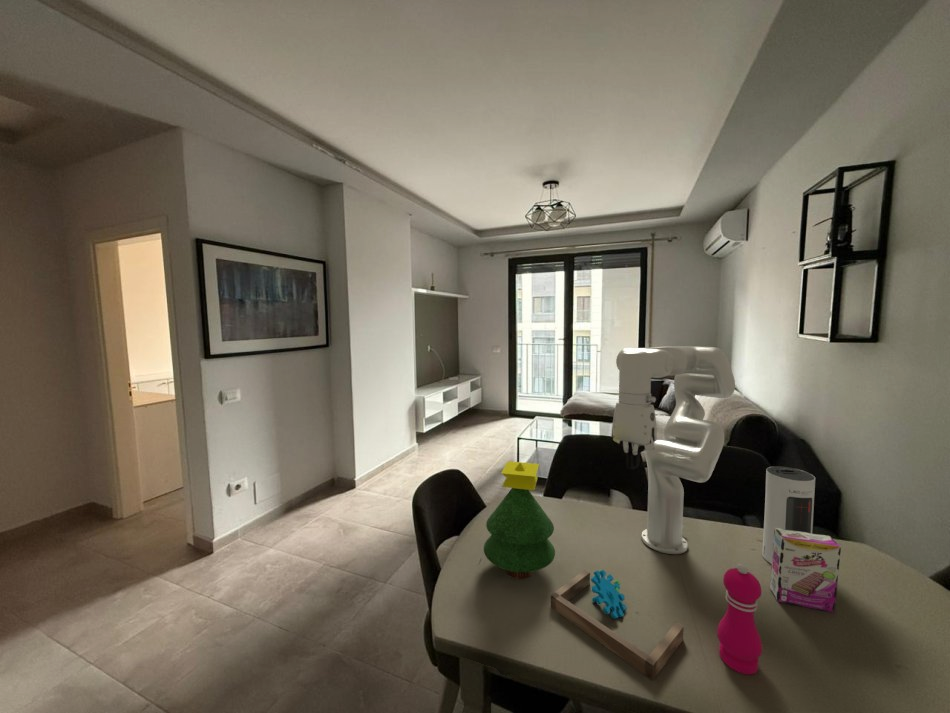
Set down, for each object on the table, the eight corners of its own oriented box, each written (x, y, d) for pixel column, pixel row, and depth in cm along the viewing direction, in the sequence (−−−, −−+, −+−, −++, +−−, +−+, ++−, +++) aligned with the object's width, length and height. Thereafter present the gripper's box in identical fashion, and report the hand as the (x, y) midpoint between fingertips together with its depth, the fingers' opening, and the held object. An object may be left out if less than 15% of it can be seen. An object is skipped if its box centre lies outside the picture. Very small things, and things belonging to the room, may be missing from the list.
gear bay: (584, 580, 97) (584, 569, 97) (683, 639, 78) (683, 626, 78) (550, 607, 88) (550, 595, 88) (652, 680, 69) (653, 665, 69)
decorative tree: (475, 588, 94) (474, 473, 92) (492, 544, 113) (491, 448, 110) (552, 602, 89) (553, 481, 87) (556, 554, 108) (557, 454, 105)
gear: (614, 624, 80) (588, 576, 86) (595, 632, 83) (570, 585, 89) (636, 605, 88) (610, 561, 93) (617, 613, 91) (593, 570, 96)
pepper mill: (707, 646, 77) (712, 554, 75) (740, 643, 77) (745, 552, 76) (735, 679, 70) (740, 578, 68) (770, 675, 70) (776, 575, 69)
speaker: (768, 568, 101) (773, 475, 99) (755, 547, 110) (760, 462, 108) (817, 578, 97) (824, 481, 95) (800, 555, 107) (806, 467, 104)
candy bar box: (777, 603, 88) (781, 537, 87) (769, 589, 93) (772, 526, 92) (837, 614, 85) (842, 546, 83) (824, 599, 89) (829, 534, 88)
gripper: (670, 401, 93) (668, 472, 94) (614, 393, 104) (613, 456, 106) (657, 405, 88) (654, 480, 89) (600, 396, 99) (599, 463, 101)
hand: (632, 467), depth 97 cm, fingers closed
